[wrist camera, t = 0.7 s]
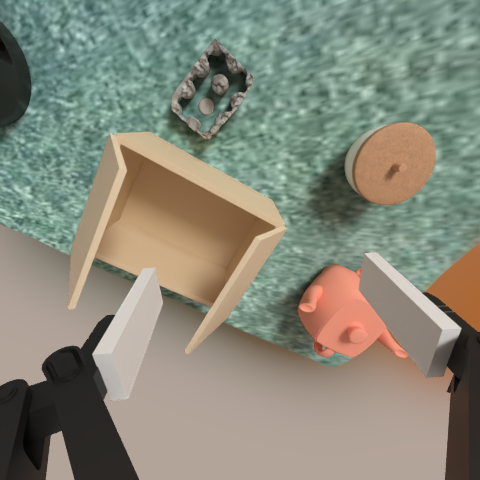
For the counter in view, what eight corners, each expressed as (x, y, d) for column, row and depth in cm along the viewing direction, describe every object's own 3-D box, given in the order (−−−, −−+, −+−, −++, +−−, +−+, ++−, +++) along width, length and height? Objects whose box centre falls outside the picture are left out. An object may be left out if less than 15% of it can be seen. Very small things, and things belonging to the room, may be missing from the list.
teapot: (284, 266, 49) (300, 309, 38) (373, 248, 48) (417, 287, 37) (295, 326, 55) (311, 380, 44) (374, 312, 54) (412, 363, 42)
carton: (115, 219, 45) (76, 249, 34) (149, 131, 40) (116, 133, 29) (227, 272, 50) (225, 313, 39) (272, 200, 44) (284, 224, 33)
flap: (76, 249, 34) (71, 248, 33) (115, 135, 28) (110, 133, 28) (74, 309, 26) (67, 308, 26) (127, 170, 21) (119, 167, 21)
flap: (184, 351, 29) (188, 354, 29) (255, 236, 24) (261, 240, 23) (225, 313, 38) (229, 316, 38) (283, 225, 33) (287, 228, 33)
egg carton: (209, 143, 41) (206, 145, 37) (170, 106, 39) (163, 104, 35) (257, 85, 38) (259, 81, 34) (217, 42, 36) (215, 32, 32)
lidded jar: (384, 198, 44) (421, 215, 36) (325, 185, 43) (347, 200, 35) (413, 131, 40) (462, 133, 32) (348, 116, 39) (380, 112, 31)
